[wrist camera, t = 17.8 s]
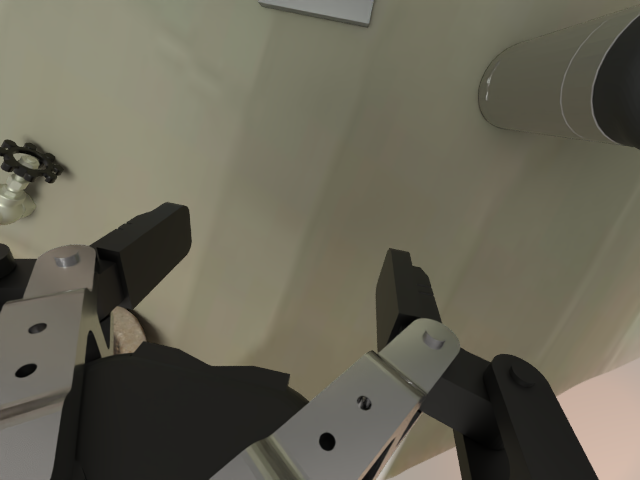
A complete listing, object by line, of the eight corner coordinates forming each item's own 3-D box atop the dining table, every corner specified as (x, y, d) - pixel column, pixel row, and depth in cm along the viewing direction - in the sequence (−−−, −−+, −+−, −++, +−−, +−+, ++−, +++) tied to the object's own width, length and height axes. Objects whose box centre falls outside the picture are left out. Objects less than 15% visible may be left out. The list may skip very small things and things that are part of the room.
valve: (38, 226, 45) (75, 172, 42) (-6, 245, 39) (33, 184, 36) (-5, 195, 43) (30, 136, 40) (-58, 210, 37) (-23, 142, 34)
